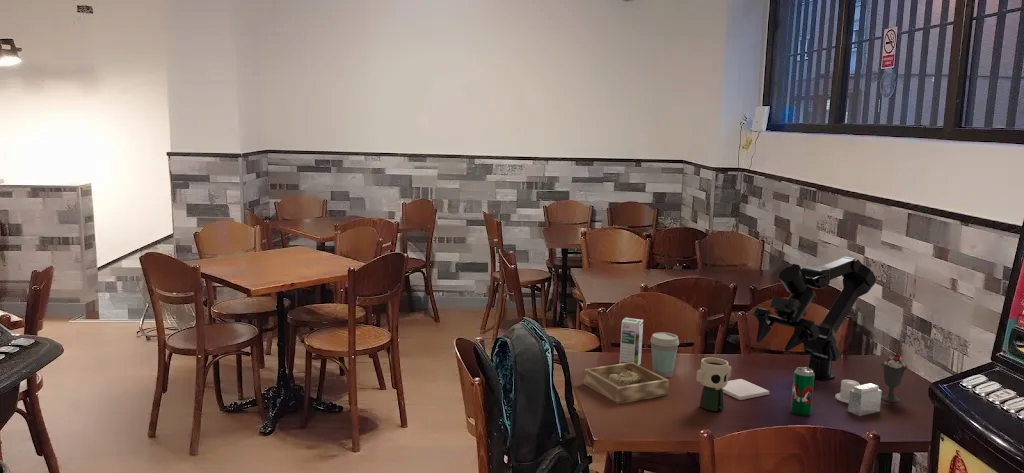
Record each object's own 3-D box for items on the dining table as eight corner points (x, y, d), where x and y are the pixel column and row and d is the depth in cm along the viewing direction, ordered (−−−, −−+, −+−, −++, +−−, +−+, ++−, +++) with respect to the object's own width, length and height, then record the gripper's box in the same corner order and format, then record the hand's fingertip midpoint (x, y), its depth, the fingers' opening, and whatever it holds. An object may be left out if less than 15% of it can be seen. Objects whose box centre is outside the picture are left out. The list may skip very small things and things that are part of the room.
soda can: (812, 412, 202) (816, 368, 200) (808, 418, 197) (812, 373, 196) (792, 407, 204) (796, 365, 202) (788, 413, 200) (792, 370, 198)
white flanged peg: (846, 393, 217) (848, 376, 216) (867, 401, 211) (869, 384, 210) (829, 397, 214) (831, 380, 213) (850, 405, 208) (852, 388, 207)
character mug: (703, 415, 197) (706, 367, 195) (686, 406, 203) (689, 359, 201) (736, 410, 201) (740, 363, 199) (719, 401, 208) (723, 355, 206)
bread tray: (631, 375, 226) (632, 361, 225) (668, 394, 211) (669, 380, 210) (583, 383, 218) (584, 369, 218) (617, 403, 203) (618, 388, 203)
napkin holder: (867, 407, 207) (870, 382, 206) (879, 411, 204) (882, 386, 202) (847, 411, 203) (850, 386, 202) (859, 416, 200) (861, 390, 199)
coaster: (741, 382, 223) (741, 378, 223) (769, 394, 214) (769, 391, 214) (712, 387, 218) (712, 383, 218) (739, 400, 209) (740, 396, 209)
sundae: (893, 405, 208) (899, 352, 206) (872, 397, 214) (877, 345, 212) (909, 401, 211) (915, 349, 209) (887, 393, 217) (893, 343, 215)
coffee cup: (677, 380, 223) (679, 341, 221) (647, 377, 225) (650, 338, 223) (676, 371, 231) (679, 333, 230) (648, 368, 233) (650, 330, 231)
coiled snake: (648, 388, 215) (650, 371, 214) (628, 398, 208) (630, 379, 207) (619, 377, 222) (621, 359, 221) (599, 385, 215) (601, 368, 213)
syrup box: (618, 366, 234) (621, 320, 232) (623, 361, 240) (625, 316, 237) (636, 369, 232) (639, 323, 230) (641, 363, 238) (643, 318, 235)
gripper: (759, 280, 221) (732, 321, 217) (817, 292, 207) (790, 338, 202) (773, 302, 227) (747, 344, 223) (830, 317, 213) (804, 361, 208)
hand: (771, 346), depth 214 cm, fingers open, 9 cm apart
